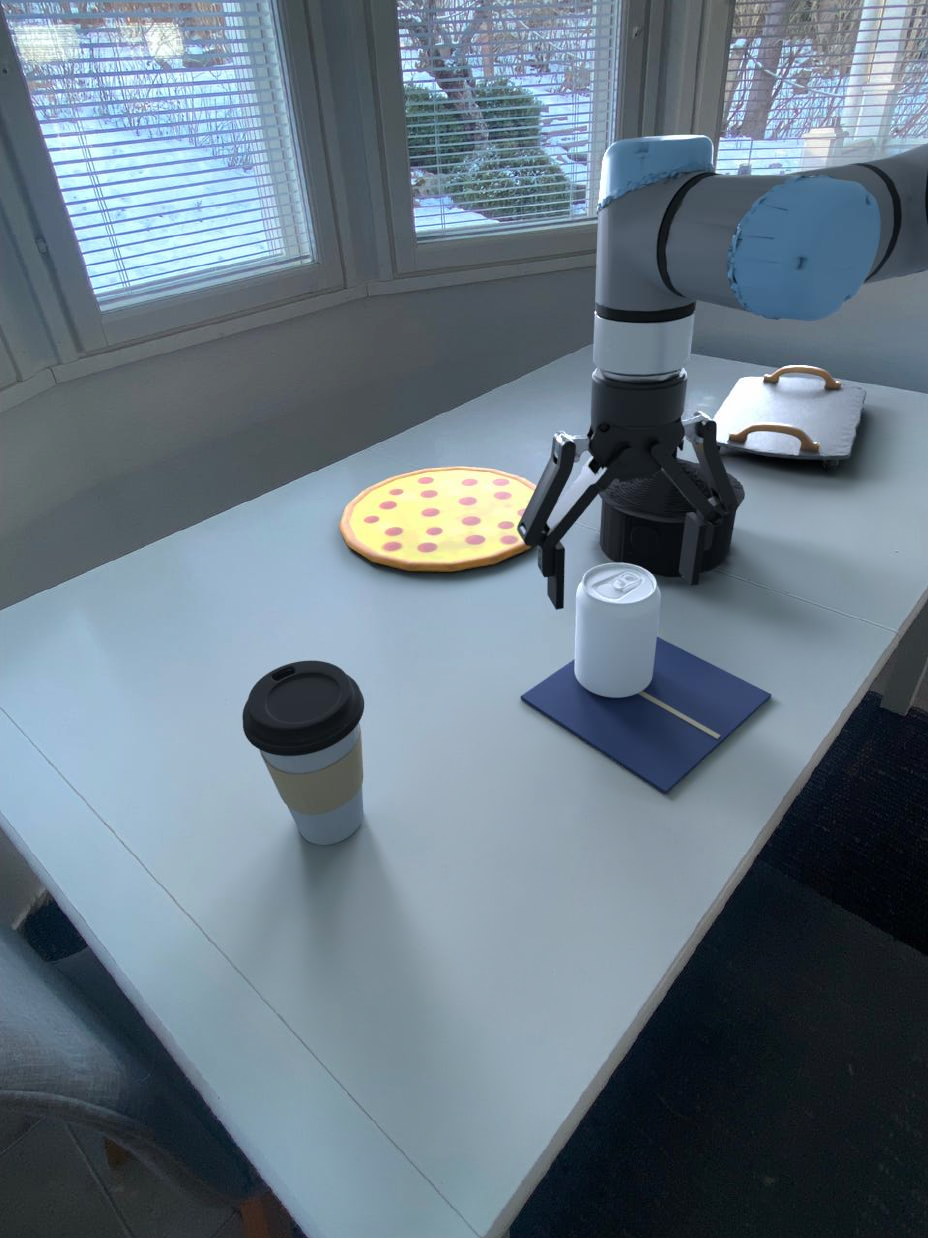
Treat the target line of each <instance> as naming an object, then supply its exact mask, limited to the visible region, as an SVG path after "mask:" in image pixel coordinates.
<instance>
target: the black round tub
mask: <svg viewBox="0 0 928 1238" xmlns="http://www.w3.org/2000/svg"><path fill="white" fill-rule="evenodd" d="M684 443H685V439H683V440H682V441H681V443H680V444H679V445H678V447H677V448H676V449H675V451H674V452H673V453H672V457H673V458H674V459H675V460H676V461H677V463H678V464H679V465H680V466H681V467H682V469H683V470H684V472H685V473H686V474H687V475H688V477H689V478H690V479H691V480H692V481H693V483H694V484H695V485H696V486H697V487H698V489H699V490H700V491H701V492H702V493H703V494H704V496H705V497H706V498H707V499H710V498H712V494H711V492H710V489H709V487H708V484H707V482H706V479H705V476H704V474H703V471H702V469H701V466H700V464H699V462H694V461H690V460H687V459H683V458H680V457H678V449H679V450H680V451H681V452H683V451H684ZM727 475H728V477H729V480H730V483H731V486H732V488H733V491H734V494H735V497H736V499H737V502H738V508H739V507H740V506H741V505H742V503H743V501H744V500H745V496H746V492H745V489H744V486H743V484H742V483H741V481H739V480H738V479H737V478H736V477H735V476H733V475H732V474H731V473H728V472H727ZM598 496H599V497H600V499H601V510H600V527H599V528H600V529H599V546H600V549H601V551H602V552H603V553H604V554H605V556H606V557H607V558H608V559H609V560H611V561H612V562H613V563H628V564H633V565H636V566H639V567H642V568H644V569H646V570H647V571H649V572H650V573H651V574H652V575H653V576H658V577H663V578H680V577H682V578H684V577H683V576H682V575H681V574H680V573H679V565H680V558H681V550H682V542H683V534H684V526H685V519H686V513H691V512H694V513H695V514H697V511H696V510H695V509H694V507H693V506H692V505H691V504H690V503H689V502H688V500H687V499H686V498H685V497H684V496H683V495H682V493H681V492H680V491H679V490H678V489H677V488H676V487H675V485H674V484H673V483H672V482H671V481H670V480H669V478H668V477H667V476H666V475H665V474H664V473H663V471H662V470H661V469H660V470H659V471H658V472H657V473H655V474H653V477H651V478H634V479H632V480H629V481H625V482H618V481H617V480H613V482H612V483H611V484H610V485H609V487H608V488H607V489H606V490H604V491H601V492H600V493H599V494H598ZM736 514H737V510H736V511H735V512H733V513H728V512H726V513H724V514H722V516H723V521H722V523H721V524H720V525H719V526H714V532H713V539H712V545H711V547H710V548H709V550H703V557H702V564H701V571H700V574H703V573H706V572H709V571H711V570H713V569H715V568H717V567H718V566H720V565H721V564H722V563H723V562H724V561H725V560H726V558H727V557H728V555H729V554H730V549H731V543H732V538H733V533H734V527H735V522H736V516H737V515H736Z"/></svg>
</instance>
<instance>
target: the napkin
mask: <svg viewBox="0 0 928 1238" xmlns="http://www.w3.org/2000/svg"><path fill="white" fill-rule="evenodd" d="M574 668H575V658H574V659H572V660H571V661H569V662H568V663H566V664H565V665H563V666H562V667H561V668H559V669H558V670H557V671H555V672H553V673H552V674H551V675H549V676H548V677H546V678H545V679H543V680H542V681H541V682H538V683H537V684H536V685H534V686H533V687H531V688H529V690H527V691H526V692H524V693H523V694H521V695H520V700H522V701H523V702H524V703H526V704H528V705H529V706H531V707H532V708H534V709H535V710H536V711H538V712H540V713H541V714H542V715H544V716H545V717H547V718H548V719H550V720H552V721H553V722H555V723H557V724H558V725H560V726H561V727H563V728H564V729H565V730H567V731H568V732H570V733H572V734H573V735H575V736H576V737H578V738H579V739H581V740H582V741H584V742H585V743H587V744H588V745H590V746H592V747H593V748H594V749H596V750H598V751H599V752H601V753H602V754H603V755H605V756H606V757H608V758H610V759H611V760H612V761H614V762H615V763H617V764H618V765H620V766H621V767H623V768H625V769H626V770H628V771H629V772H631V773H633V774H634V775H635V776H637V777H638V778H640V779H641V780H643V781H644V782H646V783H647V784H649V785H650V786H652V787H653V788H655V789H656V790H658V791H659V792H661V793H662V794H664V795H667V794H668V793H669V792H670V791H672V789H673V788H674V787H676V785H678V784H679V783H680V782H681V781H682V780H683V779H684V778H685V777H686V776H687V775H689V773H691V772H692V771H693V770H694V769H695V768H696V767H697V766H698V765H699V764H700V763H701V762H702V761H703V760H705V759H706V758H707V757H708V756H709V755H710V754H712V752H713V751H715V750H716V749H717V748H718V747H719V746H720V745H721V744H722V743H723V742H724V741H725V740H727V738H729V737H730V736H731V735H732V734H733V732H735V731H736V730H737V729H739V728H740V727H741V725H743V724H744V723H745V722H746V721H747V720H748V719H749V718H750V717H751V716H752V715H754V713H756V712H757V711H758V710H759V709H760V708H761V707H763V705H764V704H765V703H767V702H768V700H769V699H771V698H772V693H770V692H769V691H766V690H764V689H762V688H760V687H758V686H756V685H754V684H752V683H750V682H748V681H746V680H744V679H743V678H740V677H738V676H736V675H734V674H733V673H731V672H728V671H726V670H725V669H723V668H721V667H719V666H716V665H715V664H712V663H710V662H709V661H707V660H705V659H703V658H700V657H699V656H697V655H695V654H693V653H691V652H689V651H687V650H685V649H683V648H681V647H679V646H677V645H675V644H673V643H671V642H669V641H667V640H666V639H663V638H661V637H659V636H657V640H656V649H655V658H654V667H653V676H652V680H651V682H650V684H649V685H648V686H647V687H646V688H645V689H644V690H643V691H641V692H639V693H637V694H635V695H632V696H628V697H621V698H612V697H605V696H601V695H597V694H595V693H593V692H591V691H589V690H587V689H586V688H584V687H583V686H582V685H581V684H580V683H579V681H578V680H577V678H576V676H575V670H574Z"/></svg>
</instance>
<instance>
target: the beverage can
mask: <svg viewBox="0 0 928 1238" xmlns="http://www.w3.org/2000/svg"><path fill="white" fill-rule="evenodd" d="M661 603H662V593H661V590H660V587H659V586H658V581H657V578H656V577H655V575H654V574H651V573H650V572H649V571H647V570H646V569H644V568H642V567H639V566H636V565H633V564H628V563H615V562H608V563H602V564H599V565H596V566H594V567H592V568H589V570H587V571H586V572H585V573H584V574H583V576H582V578H581V582H580V583H579V584H578V586H577V589H576V594H575V629H574V630H575V631H574V633H575V634H574V659H575V668H574V670H575V676H576V678H577V680H578V681H579V683H580V684H581V685H582V686H583V687H584V688H586V689H587V690H589V691H591V692H593V693H595V694H597V695H601V696H605V697H612V698H621V697H628V696H632V695H635V694H637V693H639V692H641V691H643V690H644V689H645V688H646V687H647V686H648V685H649V684H650V682H651V680H652V676H653V667H654V658H655V649H656V640H657V637H658V629H659V619H660V612H661Z"/></svg>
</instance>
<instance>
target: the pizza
mask: <svg viewBox="0 0 928 1238" xmlns="http://www.w3.org/2000/svg"><path fill="white" fill-rule="evenodd" d="M536 486H537V484H534V483H533V482H531V481H530V480H528V479H527V478H524V477H523V476H519V475H517V474H513V473H509V472H505V471H502V470H498V469H495V468H486V467H474V466H473V467H471V466H462V465H461V466H460V465H459V466H446V467H433V468H432V467H431V468H423V469H420V470H414V471H412V472H406V473H403V474H399V475H393V476H391V477H389V478H386V479H384V480H383V481H380V482H378V483H375V484H374V485H371V486H369V487H367V488H365V489H363V490H362V491H361V492H360V493H359V494H358V495H357V496H356V497H354V498H353V499H352V500H351V501H350V502H349V503H348V504H346V505H345V507H344V510H343V513H342V516H341V519H340V522H339V525H338V529H339V530H340V532H341V535H342V536H343V539H344V542H345V543H346V545H347V547H349V548H350V549H351V550H353V551H354V552H356V553H358V555H359V554H360V555H361V556H363V557H364V558H365V559H367V560H369V561H370V562H372V563H375V564H379V565H384V566H386V567H387V566H388V567H391V568H396V569H399V570H403V571H407V572H437V573H438V572H440V573H441V572H442V573H443V572H444V573H453V572H458V571H465V570H469V569H475V568H481V567H486V566H492V565H496V564H498V563H501V562H503V561H505V560H508V559H510V558H512V557H515V556H517V555H519V554H521V553H524V552H526V551H528V550H530V549H531V548H532V547H533V546H527V545H526V544H525V543H524V541H523V539H522V538H521V536H520V534H519V532H518V531H517V526H518V524H519V522H520V520H521V518H522V516H523V513H524V511H525V509H526V507H527V505H528V503H529V501H530V499H531V497H532V495H533V493H534V491H535V488H536Z"/></svg>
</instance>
